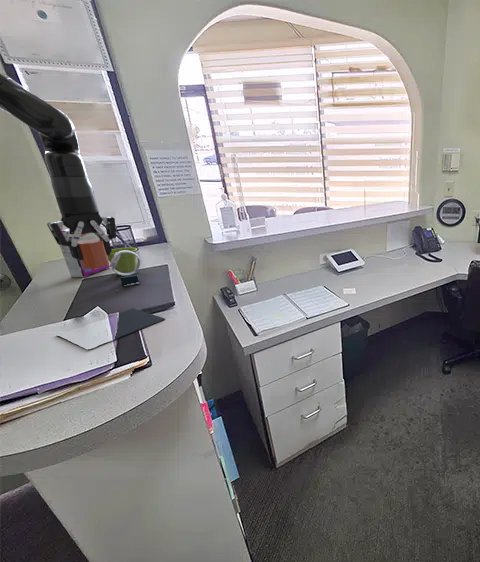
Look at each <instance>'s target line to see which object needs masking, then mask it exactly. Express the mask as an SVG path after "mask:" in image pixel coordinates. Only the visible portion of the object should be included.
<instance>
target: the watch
mask: <svg viewBox="0 0 480 562" xmlns="http://www.w3.org/2000/svg"><path fill="white" fill-rule="evenodd" d="M126 252H127V253H131V254H133V255H135V256H136V262H137V265H136V267H135V269H134V271H133V272H128V273H121V272H118V271H117V270H115V269H114V268H115V267H116V265H117V263H118V261H119V258H120V254H121V253H126ZM109 263H110V262H109ZM109 266H110V268H111V271H112V272H114V273H116V274H118V275H121V276H119V277H120V282H121V285H122V287H123V286H124V285H127V284H131V283H136V282H140V278H139V274H138V271H139V269H140V266H141V259H140V256H139V255H138V254H137V252H136V253H134V252H132V251H129V250H127V251H126V250H122V251H119V252H118V253H117V252H115V254H114V256H113V258H112V260H111V263H110V264H109ZM116 274H115V275H116Z"/></svg>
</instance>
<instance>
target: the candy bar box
mask: <svg viewBox="0 0 480 562" xmlns="http://www.w3.org/2000/svg"><path fill="white" fill-rule="evenodd" d="M61 232H62V233H63V235H64V237H65V239H66V241H67V240H68V233H69V229H68V228H63V229H62V230H61ZM90 239H99V238H98V237H97V236H96V235H95V234H94V233H86V234H81V236H80V238H79V240H78V241H82V240H90ZM59 248H60V251H61V253H62V255H63V258H64V262H65V264H66V266H67V269H68V272H69V274H70V277H71V278H87V277H89V276H92V275H95V274H97V273H100V272H102V270H103V271H105V270H107V269H106V268H108V269H110V268H111V267H110V264H109V265H108V266H105V267H100V268H93V269H84V268H83V267H82V264H81V261H80V260H76V259H75V258H73V257H72V255H71V252H70V249H69V247H68V246H63V245H59ZM109 267H110V268H109ZM104 269H105V270H104Z"/></svg>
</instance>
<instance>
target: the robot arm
mask: <svg viewBox="0 0 480 562" xmlns="http://www.w3.org/2000/svg"><path fill="white" fill-rule="evenodd" d="M0 109H1V110H2V111H5V112H7V113H8V114H10V115H11V116H13V117H14V118H15V119H17V120H18V121H20V122H21V123H23V124H25V125H26V126H28V127H30V128H31V129H33V130H34V131H36V132H37V133H38V134H39V137H40V140H41V143H42V147H43V150H44V161H45V164H46V168H47V170H48V173H49V176H50V183H51V188H52V191H53V194H54V196H55V200H56V203H57V206H58V209H59V213H60V215H61V218H60V220H58V221H54V222H51V221H50V222H48V223H47V224H46V226H47V228H48V229H49V231H50V233H51V235H52V237H53V238H54V240H55V242H56V243H57V245H58V246H60V245H63V246H68V247H69V249H70V252H71V255H72V257H73V258H75V259H76V260H83V258H82V255H81V252H80V249H79V247H78V246H77V244H78V240H79V238H80V236H81V234H86V233H94V234H95V235H96V236H97V237H98V238H99V239H101V240H103V242H104V246H105V249H106V253H107V255H110V252H112V249H113V248H112V245H111V243H110V241H111V240H113V239H116V238H117V229H116V219H115V217H113V216H101V214H100V211H99V207H98V203H97V201H96V197H95V190H94V188H93V186H92V183H91V181H90V179H89V176H88V172H87V169H86V164H85V162H84V160H83V158H82V155H81V151H80V145H79V140H78V136H77V131H76V127H75V125H74V123H73V122H72V120H71V119H70V117H68V115H67V114H65V113H64V111H63V112H62V110H60V109H58V108H57V107H56V106H54V105H52V104H51V103H49V102H47V101H45V100H44V99H42V98H40V96H38V95H36V94H34V93H33V92H30V91H29V90H27V89H26V88H25V87H24V86H22V85H21V84H20V83H18V82H17V81H16V80H14V79H12V78H11V77H9V76H8V75H6V74H5V73H3V72H2V71H0ZM102 223H103V224H104V225H105V230H106V231H104V230H103V228H101V224H102ZM63 226H64V227H66V229H69V233H68V240H67V241H66V239H65V237H64V235H63V233H62V232H61V230H63V229H64V228H63Z"/></svg>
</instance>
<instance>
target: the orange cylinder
mask: <svg viewBox="0 0 480 562" xmlns="http://www.w3.org/2000/svg"><path fill="white" fill-rule="evenodd" d="M77 246H78V247H79V249H80V252H81V255H82V258H83V260H80V261H81V264H82V267H83V268H84V269H93V268H100V267H105V266H108V265H109V266H110V262H109V260H108V256H107V253H106V249H105V246H104V242H103V240H101V239H90V240H82V241H78V244H77Z"/></svg>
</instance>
